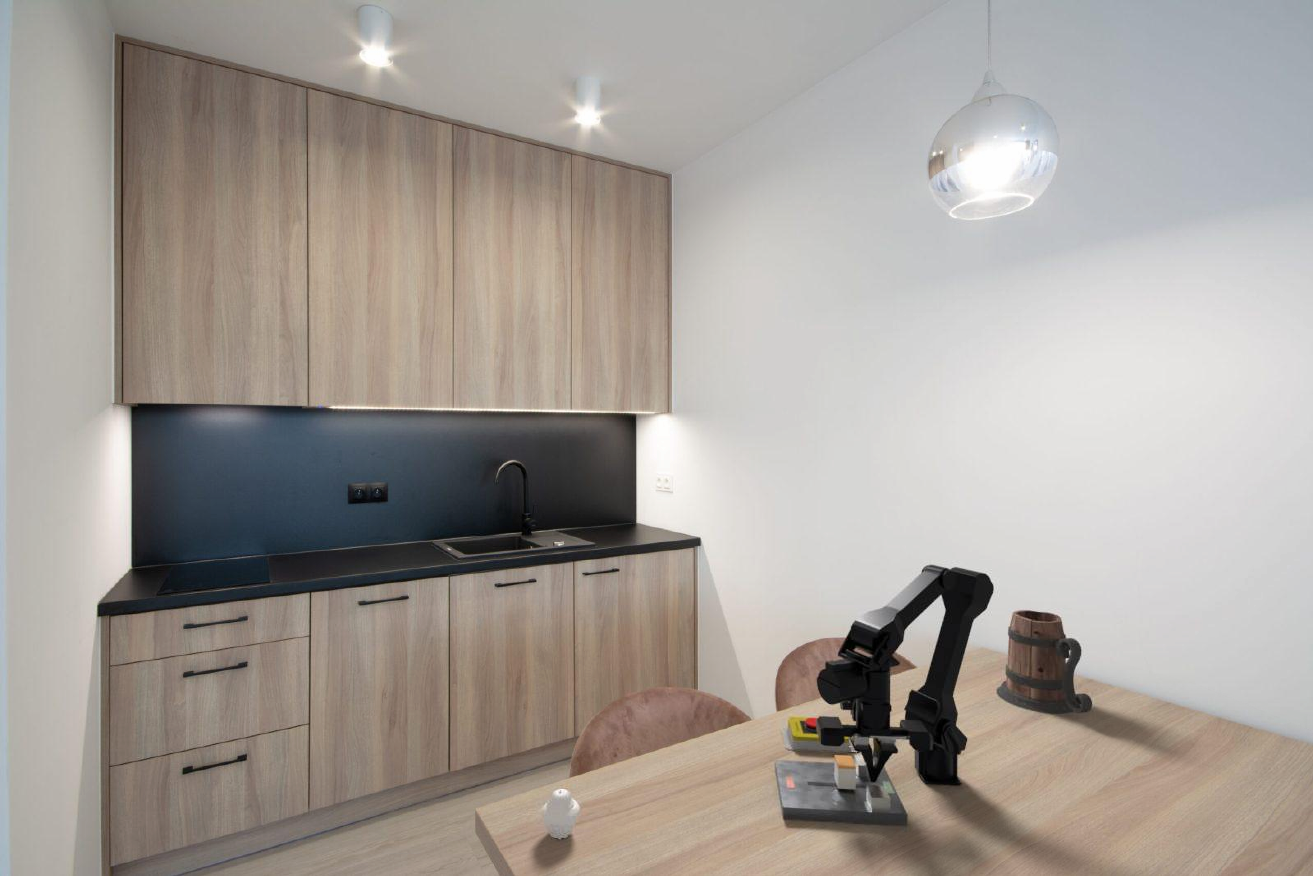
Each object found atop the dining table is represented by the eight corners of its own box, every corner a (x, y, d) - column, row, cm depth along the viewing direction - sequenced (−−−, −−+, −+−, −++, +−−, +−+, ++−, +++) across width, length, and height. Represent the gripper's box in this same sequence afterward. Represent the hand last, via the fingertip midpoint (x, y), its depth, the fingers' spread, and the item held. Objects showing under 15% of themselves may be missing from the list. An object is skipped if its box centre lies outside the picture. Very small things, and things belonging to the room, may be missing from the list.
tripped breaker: (851, 778, 113) (851, 755, 113) (855, 789, 110) (855, 766, 109) (834, 777, 113) (834, 755, 113) (838, 788, 110) (838, 765, 110)
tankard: (980, 686, 159) (981, 607, 158) (1040, 681, 161) (1041, 603, 161) (1053, 730, 136) (1053, 637, 135) (1122, 724, 138) (1122, 633, 138)
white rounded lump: (546, 850, 98) (546, 805, 98) (537, 827, 103) (537, 784, 103) (584, 839, 100) (584, 796, 100) (574, 817, 106) (573, 776, 106)
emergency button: (780, 710, 137) (851, 713, 136) (780, 730, 137) (851, 733, 136) (785, 730, 128) (861, 734, 126) (785, 752, 128) (861, 755, 126)
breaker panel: (883, 775, 118) (883, 754, 118) (907, 826, 103) (907, 802, 103) (775, 770, 120) (775, 749, 120) (783, 819, 105) (783, 795, 105)
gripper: (913, 676, 118) (913, 759, 118) (811, 673, 120) (811, 754, 120) (934, 702, 107) (933, 794, 107) (821, 698, 108) (821, 788, 109)
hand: (872, 781), depth 111 cm, fingers closed
